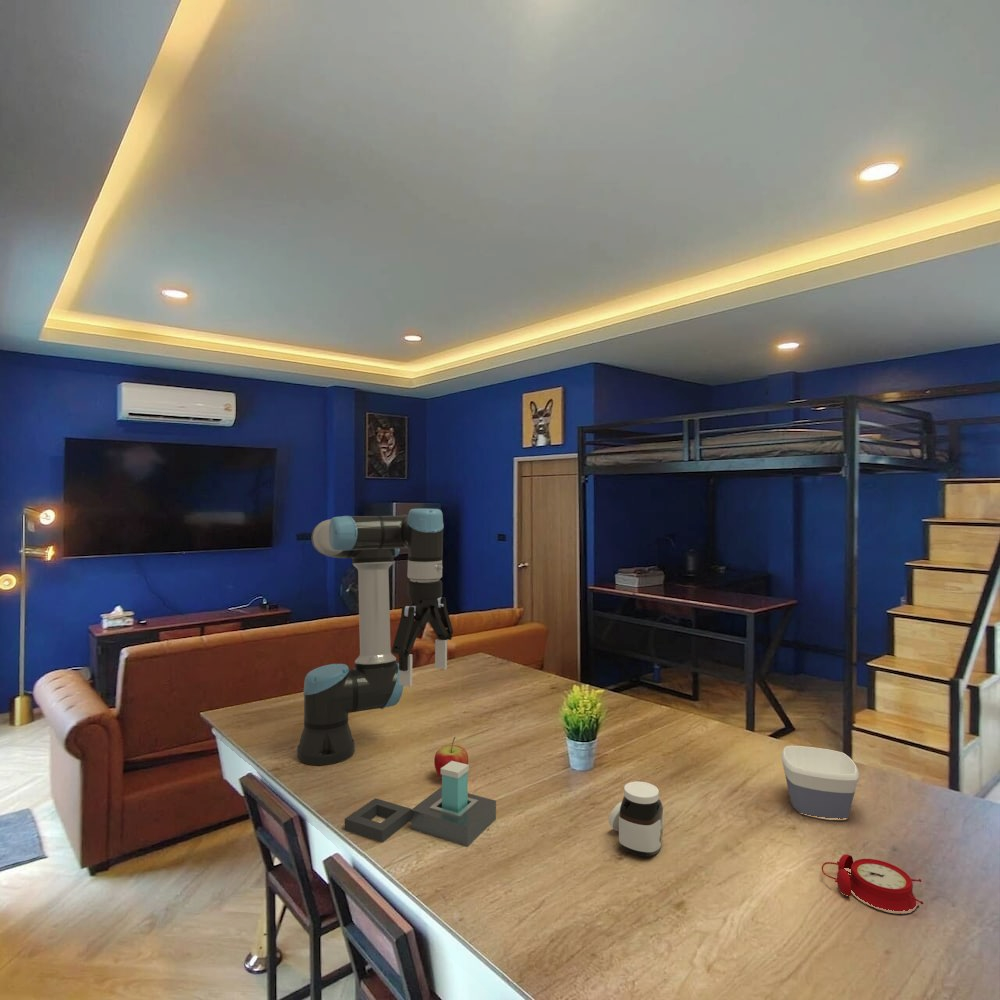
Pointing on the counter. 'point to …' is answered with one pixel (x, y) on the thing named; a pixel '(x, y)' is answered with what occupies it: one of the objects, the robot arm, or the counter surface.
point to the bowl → (820, 781)
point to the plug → (454, 786)
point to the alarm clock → (876, 883)
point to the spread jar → (639, 819)
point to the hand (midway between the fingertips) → (424, 676)
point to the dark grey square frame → (375, 830)
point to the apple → (449, 756)
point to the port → (453, 818)
